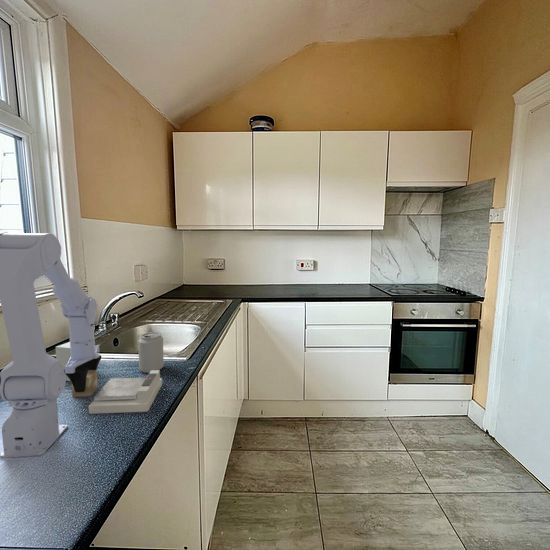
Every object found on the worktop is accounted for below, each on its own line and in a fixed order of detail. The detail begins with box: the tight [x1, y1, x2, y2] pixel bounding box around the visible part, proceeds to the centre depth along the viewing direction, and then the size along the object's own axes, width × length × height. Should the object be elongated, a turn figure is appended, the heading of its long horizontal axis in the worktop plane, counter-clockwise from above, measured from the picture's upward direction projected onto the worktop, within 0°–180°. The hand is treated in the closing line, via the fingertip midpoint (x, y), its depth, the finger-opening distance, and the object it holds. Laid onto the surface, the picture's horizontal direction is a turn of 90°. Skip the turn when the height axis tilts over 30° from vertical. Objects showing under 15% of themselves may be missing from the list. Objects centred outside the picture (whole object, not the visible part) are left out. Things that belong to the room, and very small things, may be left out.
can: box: [137, 331, 165, 374], centre depth 100 cm, size 8×8×12 cm
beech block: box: [71, 369, 99, 398], centre depth 85 cm, size 4×4×6 cm
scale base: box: [88, 370, 163, 415], centre depth 82 cm, size 14×14×5 cm
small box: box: [55, 341, 71, 382], centre depth 94 cm, size 8×6×10 cm
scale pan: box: [93, 377, 146, 401], centre depth 82 cm, size 10×10×1 cm
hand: (85, 386), depth 85 cm, fingers open, 5 cm apart
